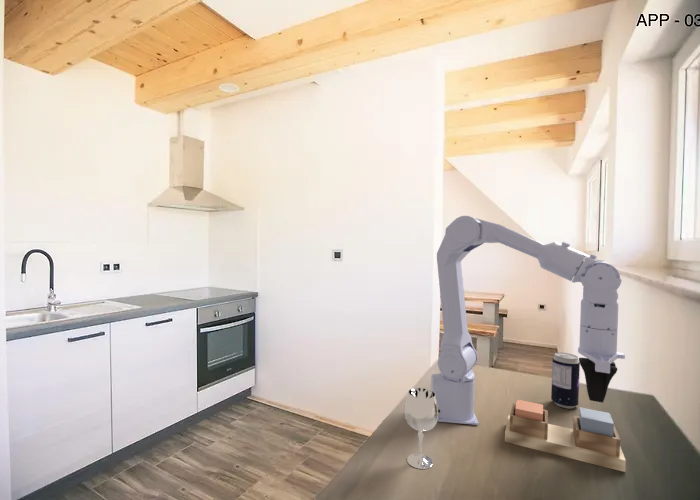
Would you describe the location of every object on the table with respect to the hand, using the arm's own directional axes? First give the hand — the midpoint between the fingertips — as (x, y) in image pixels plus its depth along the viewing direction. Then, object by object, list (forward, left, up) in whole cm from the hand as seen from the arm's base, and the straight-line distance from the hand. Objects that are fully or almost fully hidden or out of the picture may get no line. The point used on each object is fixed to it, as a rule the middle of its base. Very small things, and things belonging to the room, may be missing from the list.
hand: (595, 400), depth 68 cm
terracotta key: (-10, +4, -7) cm, 13 cm away
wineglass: (-32, -8, -10) cm, 35 cm away
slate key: (0, 0, -6) cm, 6 cm away
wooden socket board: (-5, +2, -10) cm, 11 cm away
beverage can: (+4, +22, -10) cm, 24 cm away
